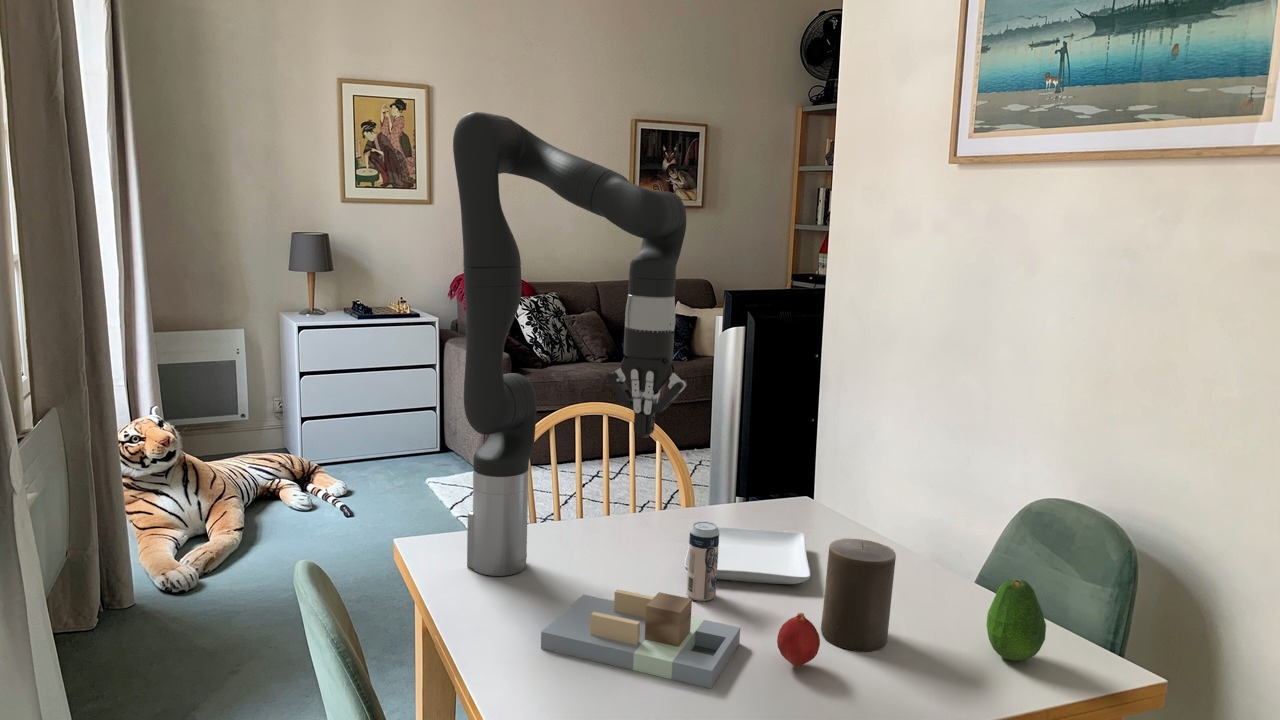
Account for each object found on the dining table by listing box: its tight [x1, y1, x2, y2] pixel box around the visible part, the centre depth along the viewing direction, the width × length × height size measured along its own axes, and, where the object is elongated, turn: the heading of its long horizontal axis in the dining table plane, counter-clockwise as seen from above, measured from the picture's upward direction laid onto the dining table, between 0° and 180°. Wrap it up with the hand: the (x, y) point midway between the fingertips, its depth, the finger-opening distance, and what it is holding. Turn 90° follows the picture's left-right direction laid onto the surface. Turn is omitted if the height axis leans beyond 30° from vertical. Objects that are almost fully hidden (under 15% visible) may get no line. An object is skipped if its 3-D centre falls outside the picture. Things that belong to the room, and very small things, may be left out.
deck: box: [540, 589, 741, 689], centre depth 131 cm, size 25×14×6 cm, turn 69°
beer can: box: [686, 521, 720, 602], centre depth 148 cm, size 5×5×12 cm
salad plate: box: [683, 526, 811, 585], centre depth 163 cm, size 21×21×3 cm
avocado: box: [986, 577, 1047, 662], centre depth 131 cm, size 8×8×12 cm
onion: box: [776, 612, 821, 668], centre depth 127 cm, size 6×6×8 cm
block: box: [645, 591, 693, 647], centre depth 129 cm, size 5×5×5 cm
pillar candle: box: [820, 537, 897, 652], centre depth 136 cm, size 10×10×15 cm
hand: (643, 436), depth 142 cm, fingers closed
